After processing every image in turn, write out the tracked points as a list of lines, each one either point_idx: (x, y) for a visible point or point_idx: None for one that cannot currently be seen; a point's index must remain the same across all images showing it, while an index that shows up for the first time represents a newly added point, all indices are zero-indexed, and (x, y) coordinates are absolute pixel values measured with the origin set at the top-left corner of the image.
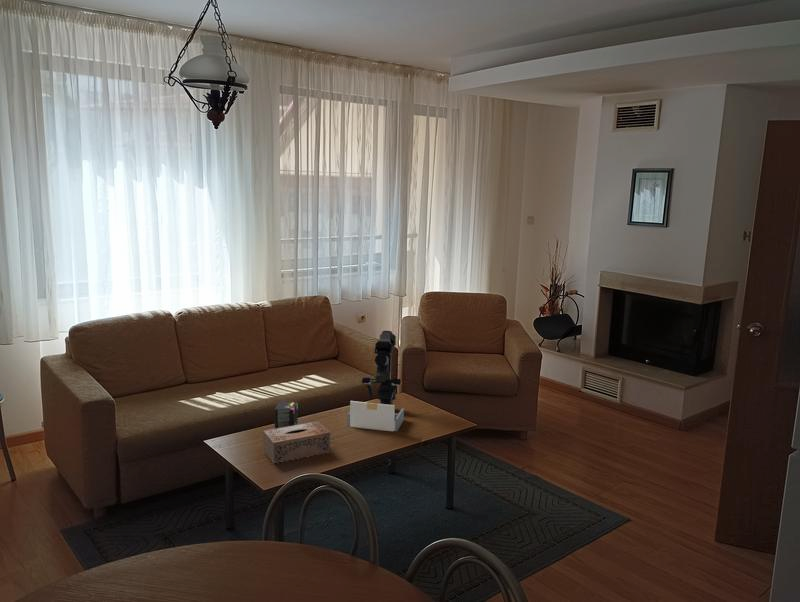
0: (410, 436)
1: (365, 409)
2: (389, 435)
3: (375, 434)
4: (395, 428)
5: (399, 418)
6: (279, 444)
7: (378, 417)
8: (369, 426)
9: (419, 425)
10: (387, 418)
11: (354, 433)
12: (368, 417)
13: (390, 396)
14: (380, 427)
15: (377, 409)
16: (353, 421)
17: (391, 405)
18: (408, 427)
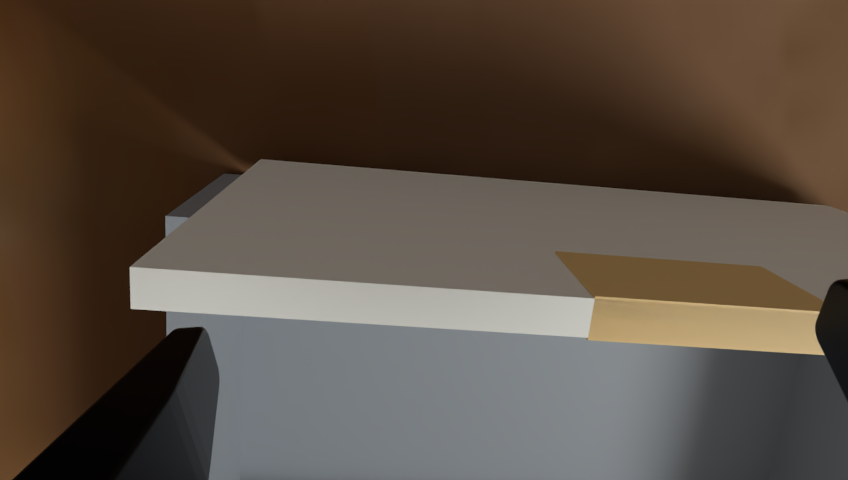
0: (24, 86)
1: (783, 266)
2: (303, 69)
3: (486, 68)
4: None
5: None
6: None
7: (495, 215)
8: (592, 191)
9: (8, 445)
10: (337, 200)
11: (751, 51)
12: (657, 223)
13: (158, 392)
14: (442, 181)
15: (548, 255)
16: (833, 219)
17: (210, 277)
18: (123, 363)
